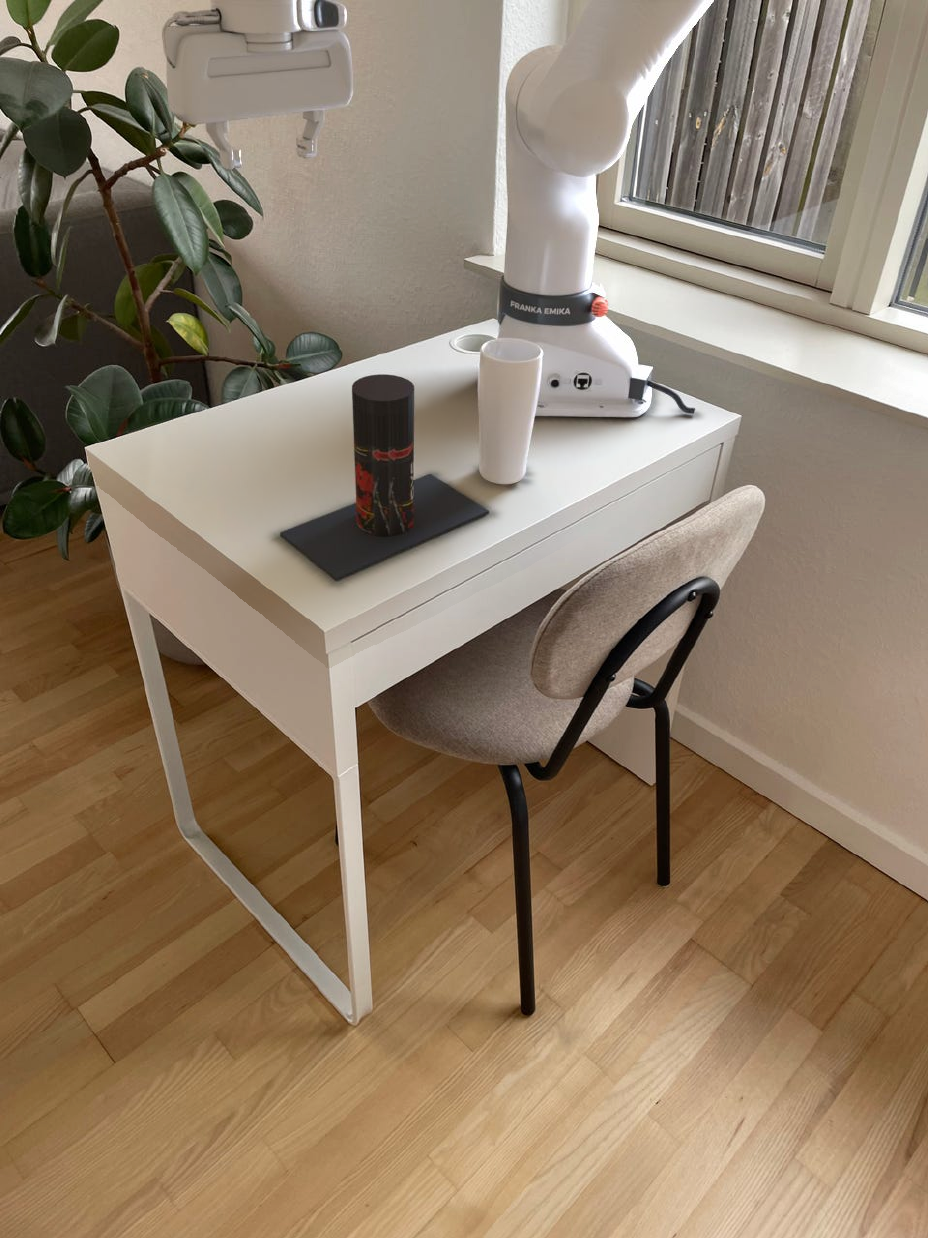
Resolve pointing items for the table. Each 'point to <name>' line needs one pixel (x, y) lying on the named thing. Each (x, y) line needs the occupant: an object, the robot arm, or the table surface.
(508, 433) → the drinking glass
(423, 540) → the mat
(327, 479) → the table surface
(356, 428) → the deodorant
